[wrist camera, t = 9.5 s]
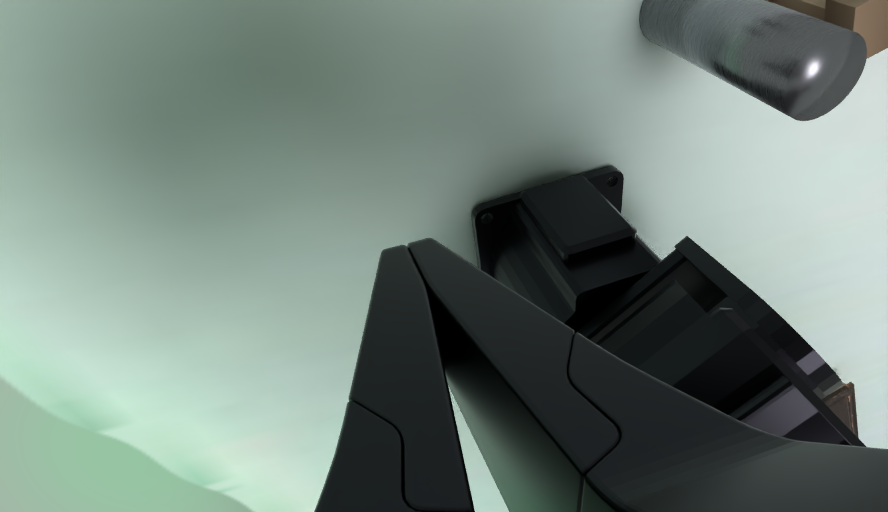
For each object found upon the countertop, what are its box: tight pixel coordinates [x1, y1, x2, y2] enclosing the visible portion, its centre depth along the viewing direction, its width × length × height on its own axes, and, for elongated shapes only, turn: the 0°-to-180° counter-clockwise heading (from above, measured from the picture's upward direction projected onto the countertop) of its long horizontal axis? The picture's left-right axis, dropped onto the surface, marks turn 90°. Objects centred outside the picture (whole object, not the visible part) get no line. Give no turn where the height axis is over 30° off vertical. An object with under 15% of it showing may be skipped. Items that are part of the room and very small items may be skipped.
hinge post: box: [640, 0, 867, 121], centre depth 18 cm, size 2×2×7 cm
